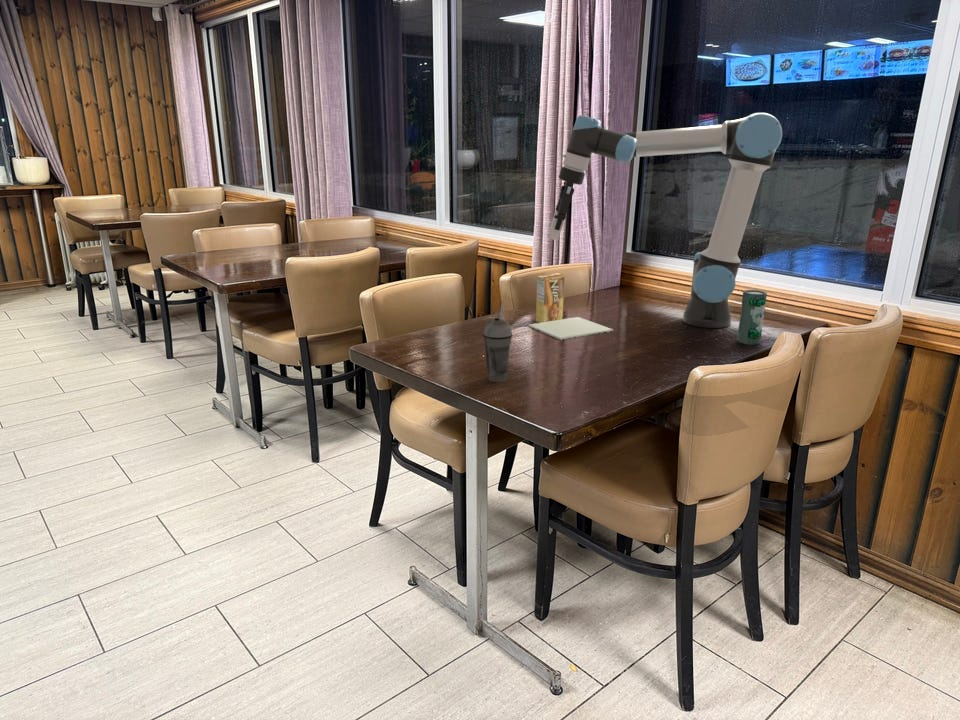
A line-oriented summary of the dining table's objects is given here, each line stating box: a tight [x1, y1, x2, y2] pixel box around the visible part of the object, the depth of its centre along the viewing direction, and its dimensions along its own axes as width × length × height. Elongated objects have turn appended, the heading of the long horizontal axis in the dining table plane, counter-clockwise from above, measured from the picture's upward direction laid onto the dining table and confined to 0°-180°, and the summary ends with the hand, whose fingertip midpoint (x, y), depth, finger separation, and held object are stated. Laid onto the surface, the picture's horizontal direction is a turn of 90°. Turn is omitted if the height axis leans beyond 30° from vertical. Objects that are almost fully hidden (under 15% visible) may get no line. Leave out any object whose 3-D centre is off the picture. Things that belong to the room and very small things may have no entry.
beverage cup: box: [482, 300, 513, 383], centre depth 164 cm, size 7×7×20 cm
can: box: [736, 289, 768, 345], centre depth 195 cm, size 6×6×15 cm
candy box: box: [535, 272, 565, 323], centre depth 219 cm, size 9×4×15 cm, turn 129°
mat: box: [527, 316, 614, 341], centre depth 211 cm, size 18×20×1 cm
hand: (553, 235), depth 211 cm, fingers open, 13 cm apart
